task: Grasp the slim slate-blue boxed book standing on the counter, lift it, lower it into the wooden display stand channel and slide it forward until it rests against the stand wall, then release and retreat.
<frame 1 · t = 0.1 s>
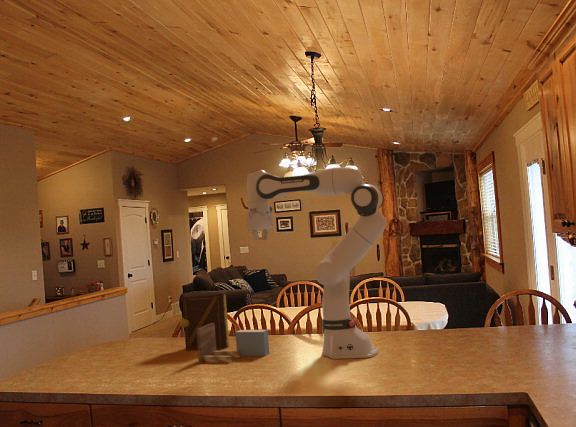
hand: (261, 240, 228), 48 cm above the counter, fingers open, 8 cm apart
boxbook: (253, 354, 226), on the counter
wooden display stand: (222, 359, 221), on the counter
book: (205, 348, 247), on the counter
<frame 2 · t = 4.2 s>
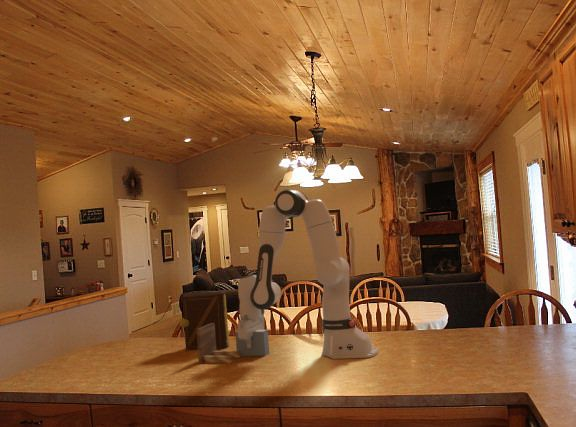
hand: (252, 345, 227), 4 cm above the counter, fingers closed on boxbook, 4 cm apart
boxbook: (253, 354, 226), on the counter, touching gripper
everything else where it was.
when the fingers open (5 cm above the counter, at t = 10.3 s): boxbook drops 1 cm, resting in wooden display stand.
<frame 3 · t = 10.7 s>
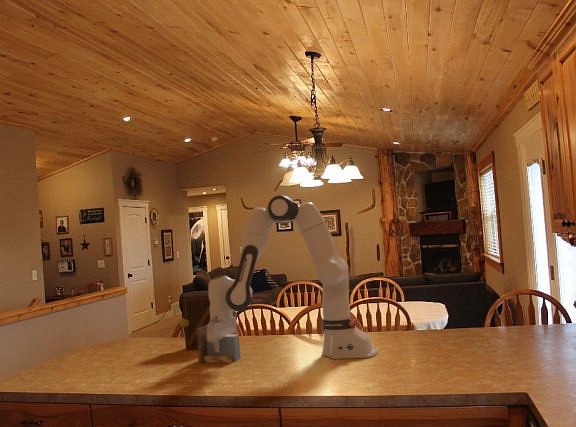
hand: (223, 348, 221), 5 cm above the counter, fingers open, 8 cm apart
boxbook: (223, 359, 221), resting in wooden display stand
everything else where it was.
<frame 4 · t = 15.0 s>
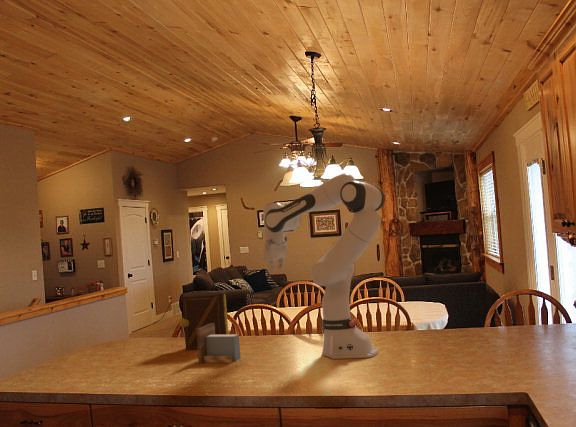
hand: (276, 269, 241), 34 cm above the counter, fingers open, 8 cm apart
nothing on the counter moved.
at the end: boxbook 0.7 cm from the target spot, resting in wooden display stand; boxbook tilted 0°; the gripper is holding nothing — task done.
